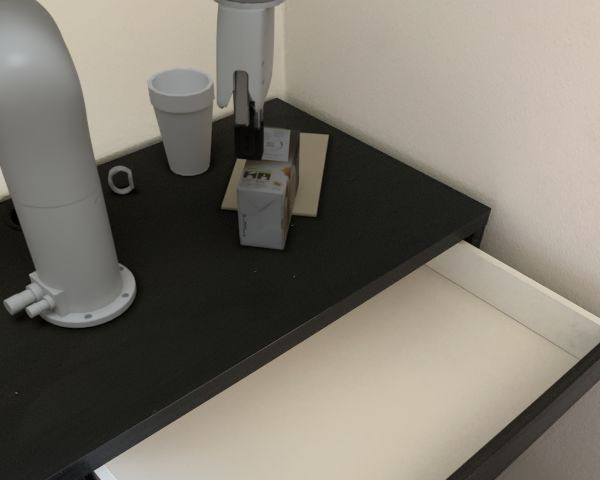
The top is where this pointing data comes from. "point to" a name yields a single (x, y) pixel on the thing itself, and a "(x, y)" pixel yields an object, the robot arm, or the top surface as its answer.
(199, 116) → the foam cup
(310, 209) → the mat
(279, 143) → the coffee box
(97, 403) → the top surface
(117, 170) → the grey ring
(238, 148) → the robot arm
